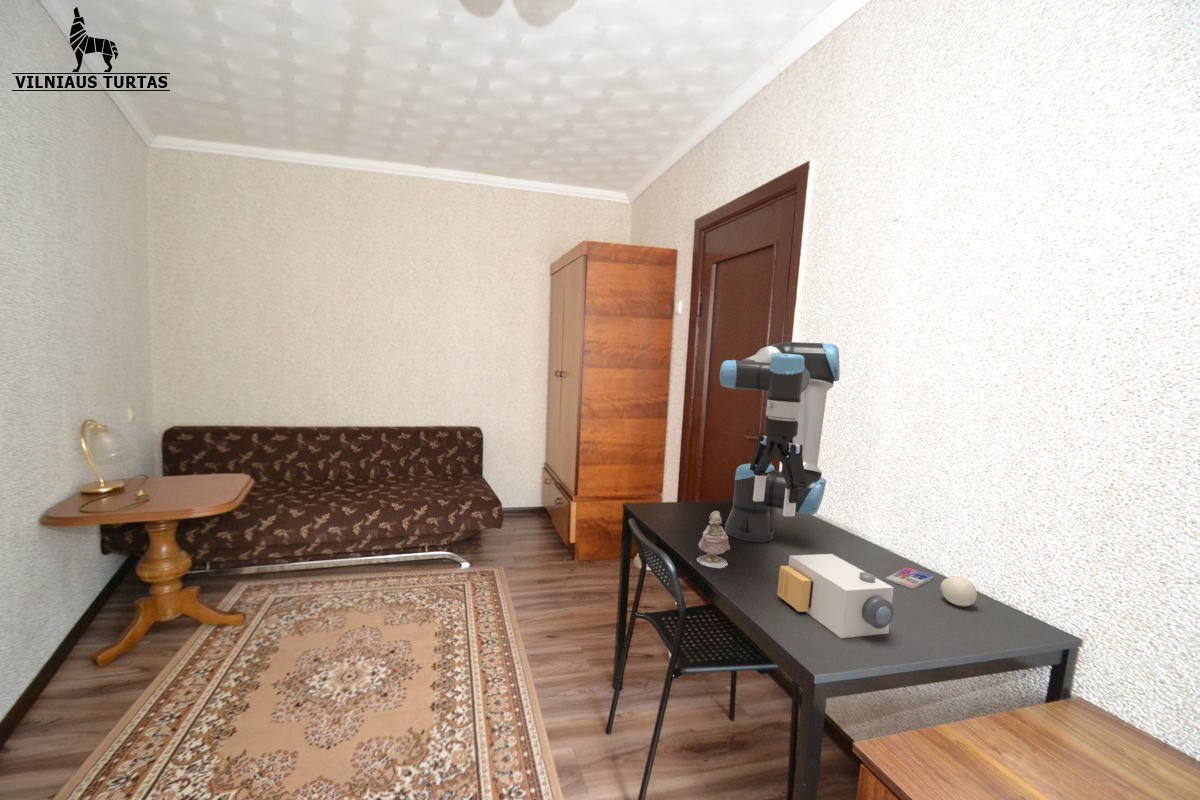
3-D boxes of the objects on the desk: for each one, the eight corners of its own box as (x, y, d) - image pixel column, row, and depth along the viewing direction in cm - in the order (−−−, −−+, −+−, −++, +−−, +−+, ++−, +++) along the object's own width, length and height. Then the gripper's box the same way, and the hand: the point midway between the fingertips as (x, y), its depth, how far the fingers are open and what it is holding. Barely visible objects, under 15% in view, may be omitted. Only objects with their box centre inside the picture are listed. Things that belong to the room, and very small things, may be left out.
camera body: (784, 596, 118) (789, 551, 117) (827, 593, 121) (832, 549, 120) (849, 645, 98) (855, 591, 97) (898, 640, 101) (905, 588, 100)
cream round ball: (950, 595, 125) (954, 570, 125) (981, 609, 118) (985, 582, 118) (931, 598, 123) (935, 572, 122) (962, 612, 116) (965, 585, 116)
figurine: (708, 571, 127) (701, 512, 131) (684, 569, 136) (678, 513, 139) (739, 566, 133) (731, 509, 136) (714, 564, 141) (708, 510, 144)
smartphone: (883, 577, 132) (906, 566, 142) (882, 580, 133) (905, 569, 142) (913, 587, 127) (935, 575, 136) (913, 591, 127) (935, 579, 136)
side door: (776, 594, 116) (779, 566, 116) (785, 594, 117) (788, 565, 117) (799, 611, 109) (802, 581, 108) (808, 611, 109) (811, 580, 109)
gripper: (740, 412, 128) (733, 494, 130) (801, 425, 106) (791, 524, 107) (765, 413, 131) (757, 494, 132) (830, 426, 108) (820, 523, 109)
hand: (772, 508), depth 120 cm, fingers open, 11 cm apart
